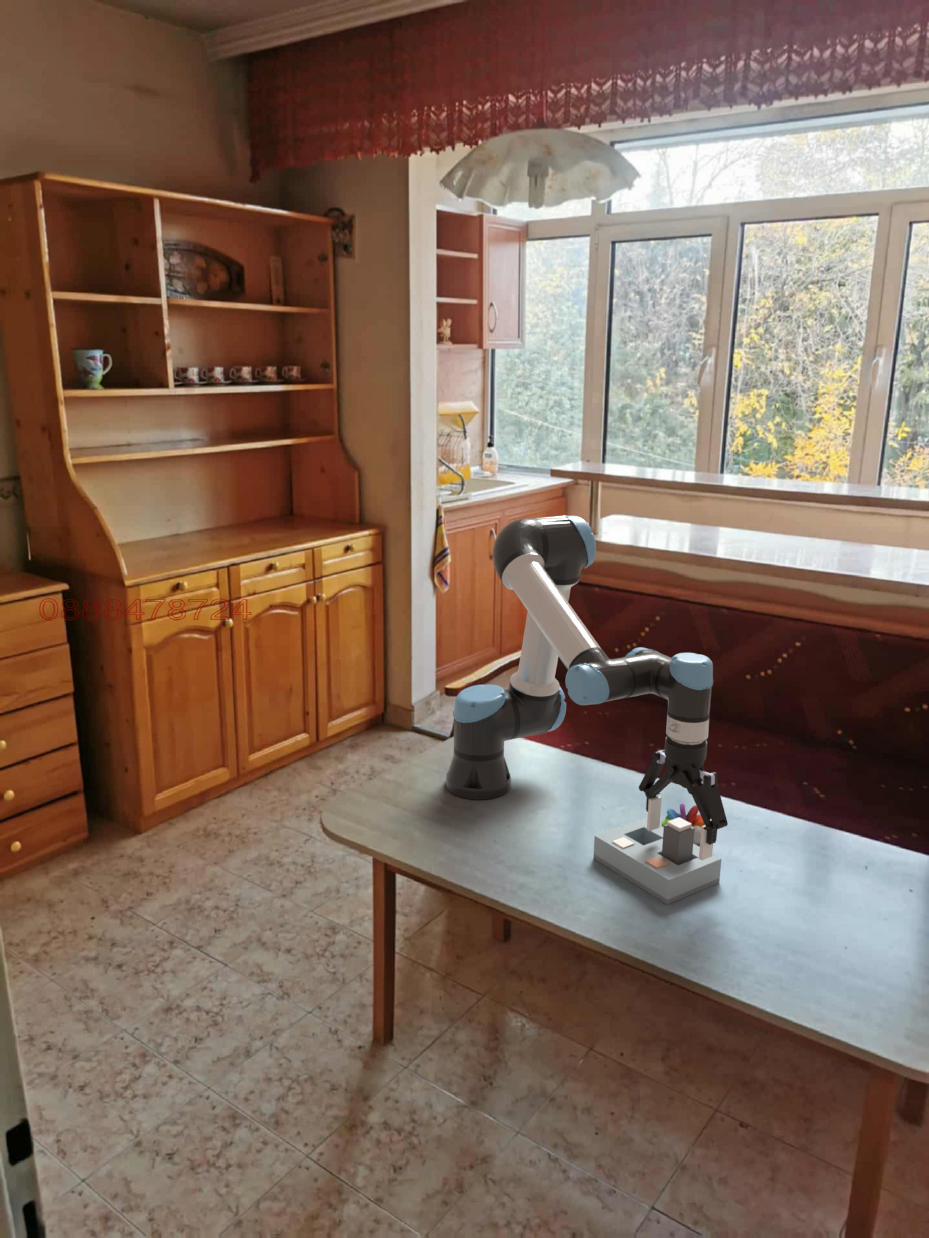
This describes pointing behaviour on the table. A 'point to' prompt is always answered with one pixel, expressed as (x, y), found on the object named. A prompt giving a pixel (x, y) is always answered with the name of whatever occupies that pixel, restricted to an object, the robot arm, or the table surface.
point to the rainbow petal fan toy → (690, 817)
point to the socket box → (654, 862)
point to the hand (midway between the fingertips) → (678, 842)
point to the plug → (678, 841)
